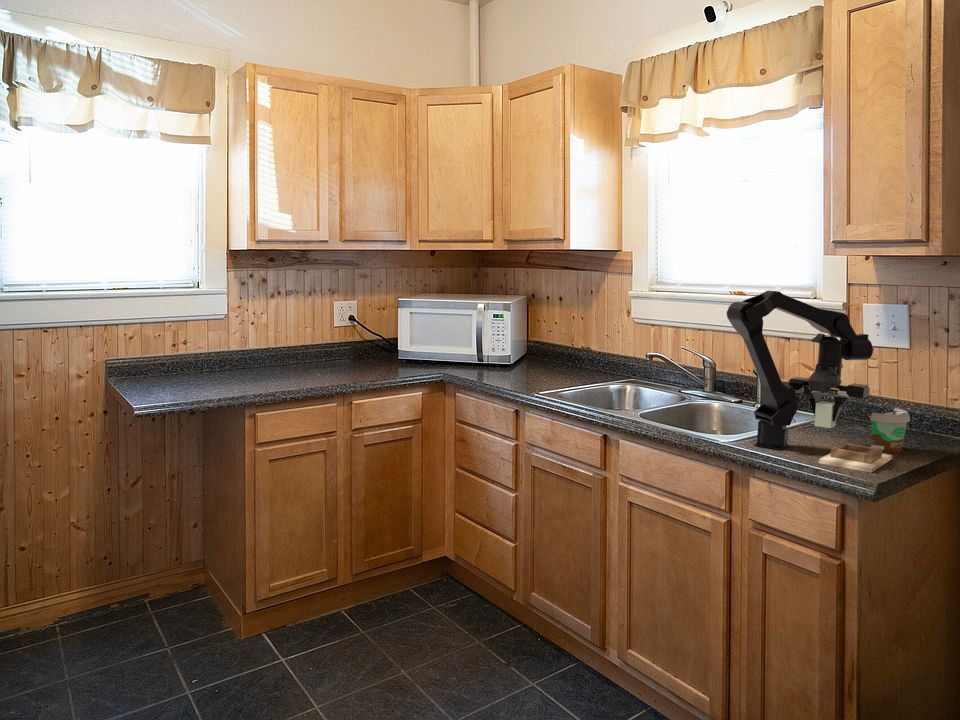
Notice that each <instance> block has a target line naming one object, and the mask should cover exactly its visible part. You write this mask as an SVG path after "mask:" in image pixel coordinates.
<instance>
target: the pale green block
mask: <svg viewBox="0 0 960 720" xmlns="http://www.w3.org/2000/svg"><path fill="white" fill-rule="evenodd" d="M834 406H835V402H830V401H822V400H820V402H818V403H816V410H815V416H814V423H813V424H814V425H813V426H814V427H819V428H826V429H832V428H835V427H836V424H837V423H836V422H837V420H836V421H833V411H834Z"/></svg>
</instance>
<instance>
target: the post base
mask: <svg viewBox="0 0 960 720" xmlns="http://www.w3.org/2000/svg"><path fill="white" fill-rule="evenodd" d="M892 459H893V455H892V454H889V453H882V449H880V448H873V447H871V446H867V445H860V444H855V443H848V442H842V443H839V444H838V445H835V446H834V447H832V448H830V452H829V453H828V454H826V455H824V456H822V457H821V458H819V460H818V464H821V465H822V464H823V465H826V466H827V465H828V466H834V467H839V468H843V469H844V468H845V469H848V470H849V469H850V470H856V471H861V472H866V473H871V474H872V473H873V472H875V471H876V470H877V469H879V468H880V467H883V465H885V464H887V463H888V462H889V461H891V460H892Z"/></svg>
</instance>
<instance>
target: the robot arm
mask: <svg viewBox="0 0 960 720" xmlns="http://www.w3.org/2000/svg"><path fill="white" fill-rule="evenodd" d="M774 310H777V311H781V312H782V313H786V314H787V315H791V316H792V317H796V318H798V319H801V320H803V321H805V322H807V323H808V324H810V326H811V327H813V328H814V329H816V330H817V331H818V332H819V333H817V334H816V336H815V337H813V338H811V340H810V341H811V342H812V343H816V344H818V352H817V353H818V354H817V363H816V365H815V369H814V372H813V373H812V374H811V375H810V376H809V377H803V376H802V377H800V376H795V377H791V378H790V379H789V380H788V382H787V384H784V383H783V381H782V378H781V377H780V374H779V372H778V369H777V367H776V364H775V362H774V358H773V356H772V354H771V351H770V348H769V347H768V343H767V342H766V339H765V337H764V333H763V330H764V329H763V328H764V319H763V318H765V317H767V316H768V315H770V314H771V312H773V311H774ZM726 317H727V320H728V321H729V323H730V325H731V327H733V329H734V330H735V331H736V332H737V333H738V334H739V335H740V336H741V338H742V339H743V342H744V344H745V347H746V349H747V351H748V353H749V356H750V358H751V361H752V363H753V366H754V369H755V371H756V374H757V376H758V378H759V381H760V384H761V386H762V391H761V400H762V403H761V404H760V405H759V406H758V407H757V408H756V409H755V410H754V411H753V415H754V417H755V420H757V421H758V422H757V435H756V442H755V443H754V444H753V445H754V446H756V447H761V448H767V449H772V450H782V449H784V448H786V447H788V446H789V444H788V440H789V429H787V426H789V427H790V426H791V425H792V422H793V420H794V417H795V415H796V413H797V411H798V410H799V403H798V402H799V401H800V399H799V398H798V397H797V395H796V391H800V390H801V389H802V391H801V393H802V395H805V396H806V397H807V399H808V401H809V403H810V405H811V409H812V412H813V415H814V417H815V410H816V403H818V402H820V401H821V393H822V394H823V393H829V392H833V393H834V392H837V395H834V403H835V406H834V411H833V421H836V422H837V419H838V417H839V415H840V413H841V411H842V409H843V407H844V405H845V404H846V403H847V401H848V400H849V399H852V398H854V399H855V398H856V399H864V398H867V397H870V387H869V385H868V384H862V383H850V384H848V385H845V384H844V385H843V384H842V369H843V367H844V364H843V360H845V361H867V360H870V359H871V357H872V356H873V353H874V347H873V344H872V341H871V340H870V339H869V337H870V336H869V334H868V333H867V334H866V333H856V332H855V330H854V328H853V326H852V325H851V323H850V319H849V316H848V315H847V314H846V313H844V312H840V311H834V310H828V309H825V308H824V309H823V308H818V307H816V306H813V305H811V304H809V303H806V302H803V301H801V300H798V299H796V298H793V297H790V296H789V295H786V294H783V293H782V292H781V291H778V290H770V289H769V290H765V291H764V292H762V293H759V294H757V295H755V296H752V297H749V298H746V299H744V300H742V301H734V302H733V303H731V304H729V306H728V307H727V310H726ZM825 334H828V336H827V335H825ZM838 338H839V339H838Z"/></svg>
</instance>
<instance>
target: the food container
mask: <svg viewBox="0 0 960 720" xmlns="http://www.w3.org/2000/svg"><path fill="white" fill-rule="evenodd" d="M869 421H871V427H870V428H871V432H870V433H871V435H870V447H873V448H880V449H882V454H899V453H900V454H901V453H902V451H903V447H904V439H905V435H906V434H905V433H906V429H907V424H908V423H909V422H911V417H910V414H909V411H907V410H905V409H901V408H896V407H894V408H893V411H890V412H888V411H887V412H886V411H884V412H879V413H877V412H871V415H870V420H869Z"/></svg>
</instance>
